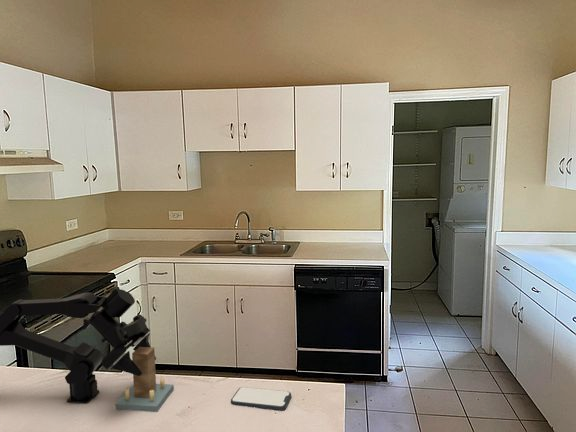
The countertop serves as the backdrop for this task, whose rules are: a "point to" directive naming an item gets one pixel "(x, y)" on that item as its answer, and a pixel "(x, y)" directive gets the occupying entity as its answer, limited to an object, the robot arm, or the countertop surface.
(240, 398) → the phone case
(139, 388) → the walnut block
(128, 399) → the pegged blue base plate
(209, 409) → the countertop surface
